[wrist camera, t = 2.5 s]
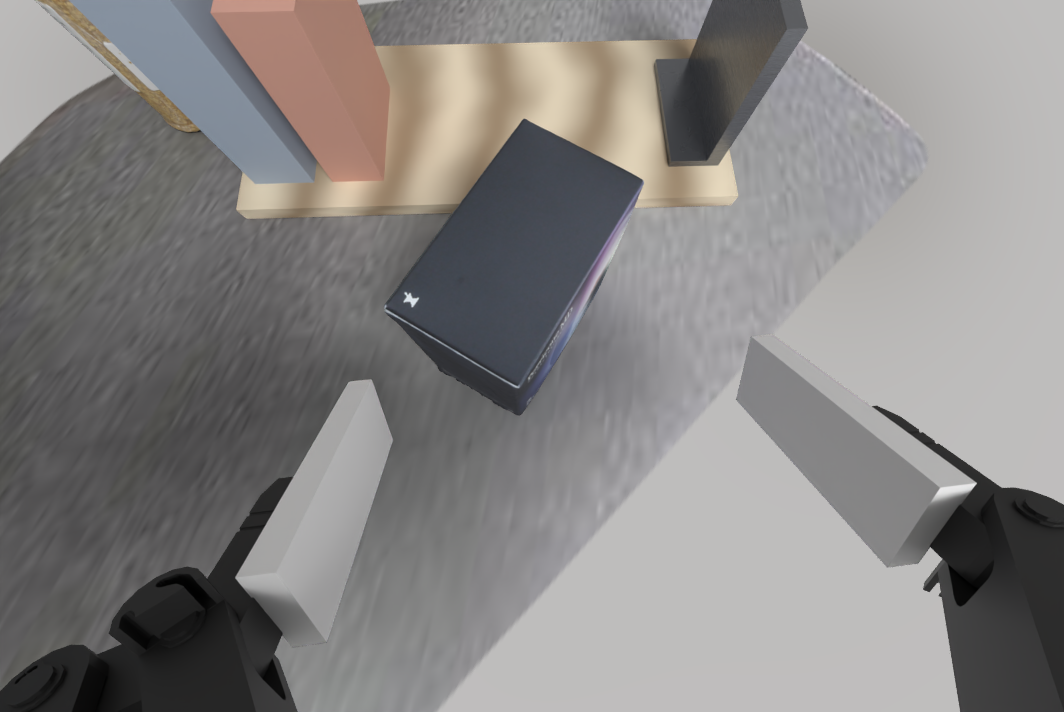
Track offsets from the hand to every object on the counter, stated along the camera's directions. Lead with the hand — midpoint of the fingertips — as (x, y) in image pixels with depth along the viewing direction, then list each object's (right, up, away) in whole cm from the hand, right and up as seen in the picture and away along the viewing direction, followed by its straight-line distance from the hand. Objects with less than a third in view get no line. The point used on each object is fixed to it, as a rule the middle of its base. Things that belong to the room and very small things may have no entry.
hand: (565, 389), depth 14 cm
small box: (-2, +3, +12) cm, 12 cm away
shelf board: (-4, +18, +15) cm, 24 cm away
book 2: (-13, +17, +14) cm, 26 cm away
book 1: (-18, +17, +14) cm, 28 cm away
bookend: (+10, +19, +14) cm, 26 cm away
